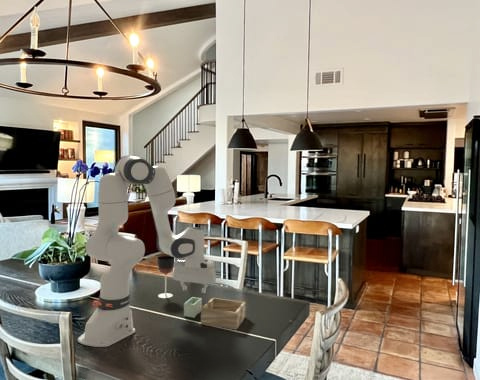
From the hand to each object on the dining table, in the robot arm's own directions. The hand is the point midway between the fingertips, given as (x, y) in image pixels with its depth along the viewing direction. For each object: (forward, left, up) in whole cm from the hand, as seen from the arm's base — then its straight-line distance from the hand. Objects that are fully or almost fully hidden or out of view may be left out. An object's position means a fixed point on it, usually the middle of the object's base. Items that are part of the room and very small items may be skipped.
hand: (194, 291), depth 171 cm
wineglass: (+17, +23, -10) cm, 30 cm away
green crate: (0, 0, -10) cm, 10 cm away
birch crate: (-3, -16, -10) cm, 19 cm away
